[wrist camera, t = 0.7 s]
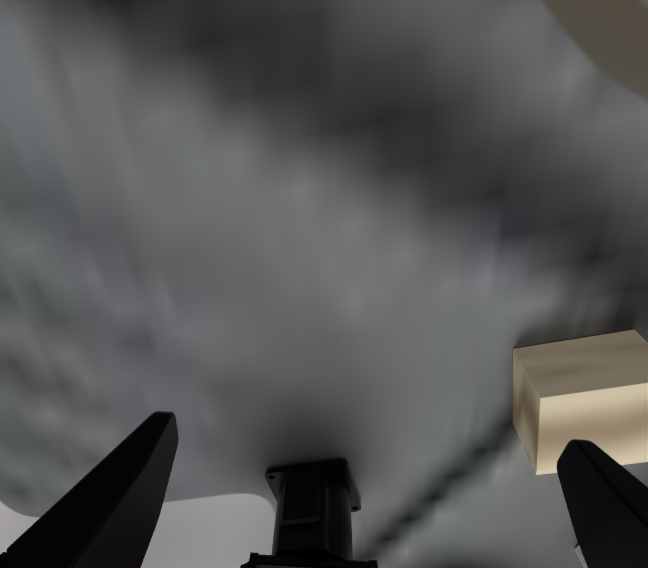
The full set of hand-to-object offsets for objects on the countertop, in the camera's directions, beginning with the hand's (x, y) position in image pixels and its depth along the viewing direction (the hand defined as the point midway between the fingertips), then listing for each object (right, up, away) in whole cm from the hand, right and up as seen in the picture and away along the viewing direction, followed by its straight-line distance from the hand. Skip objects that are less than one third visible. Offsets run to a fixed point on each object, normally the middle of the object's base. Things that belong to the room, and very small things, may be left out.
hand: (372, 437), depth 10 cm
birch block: (+15, -3, +18) cm, 23 cm away
